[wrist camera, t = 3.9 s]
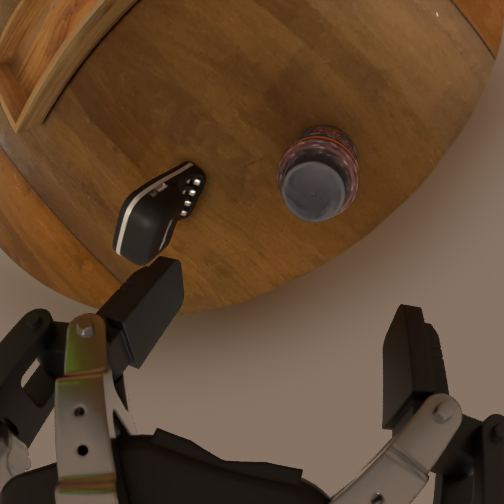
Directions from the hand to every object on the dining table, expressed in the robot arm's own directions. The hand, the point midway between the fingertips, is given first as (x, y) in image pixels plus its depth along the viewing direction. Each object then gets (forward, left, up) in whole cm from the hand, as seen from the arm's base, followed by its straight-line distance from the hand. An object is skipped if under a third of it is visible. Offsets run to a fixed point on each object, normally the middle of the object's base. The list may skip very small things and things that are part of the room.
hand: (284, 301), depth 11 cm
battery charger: (+14, +6, -21) cm, 26 cm away
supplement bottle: (0, 0, -21) cm, 21 cm away
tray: (+31, -18, -21) cm, 42 cm away
